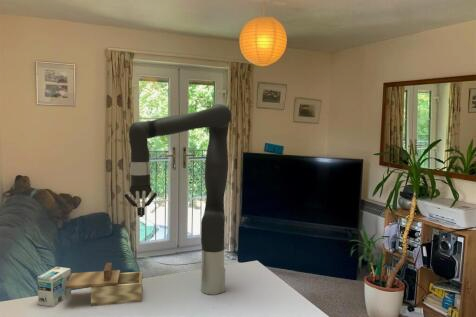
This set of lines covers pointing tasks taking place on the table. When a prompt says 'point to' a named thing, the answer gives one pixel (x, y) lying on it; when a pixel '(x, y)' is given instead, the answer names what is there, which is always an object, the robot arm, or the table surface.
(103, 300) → the wooden box
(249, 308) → the table surface
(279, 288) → the table surface
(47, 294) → the light bulb box
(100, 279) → the lid
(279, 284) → the table surface
